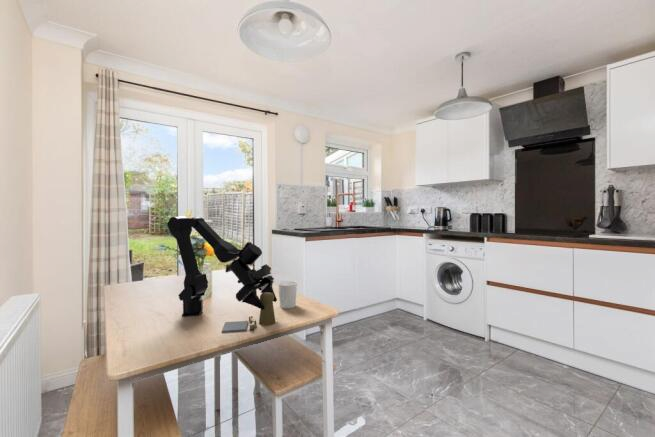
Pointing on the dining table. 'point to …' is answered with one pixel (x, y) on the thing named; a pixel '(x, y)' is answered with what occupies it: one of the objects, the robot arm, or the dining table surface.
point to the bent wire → (252, 323)
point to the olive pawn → (267, 309)
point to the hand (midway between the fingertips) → (270, 304)
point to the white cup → (287, 294)
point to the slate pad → (235, 326)
